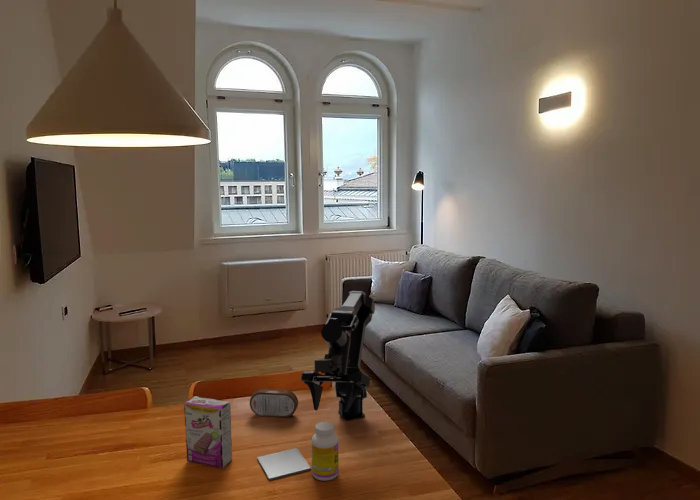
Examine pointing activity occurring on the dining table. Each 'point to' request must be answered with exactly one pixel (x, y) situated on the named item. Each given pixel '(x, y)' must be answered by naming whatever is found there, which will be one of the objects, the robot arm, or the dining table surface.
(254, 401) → the tin
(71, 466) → the dining table surface
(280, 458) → the slate coaster
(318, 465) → the supplement bottle
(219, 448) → the candy bar box
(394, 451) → the dining table surface
